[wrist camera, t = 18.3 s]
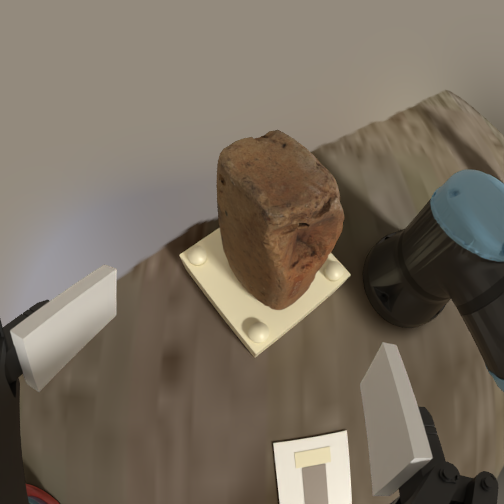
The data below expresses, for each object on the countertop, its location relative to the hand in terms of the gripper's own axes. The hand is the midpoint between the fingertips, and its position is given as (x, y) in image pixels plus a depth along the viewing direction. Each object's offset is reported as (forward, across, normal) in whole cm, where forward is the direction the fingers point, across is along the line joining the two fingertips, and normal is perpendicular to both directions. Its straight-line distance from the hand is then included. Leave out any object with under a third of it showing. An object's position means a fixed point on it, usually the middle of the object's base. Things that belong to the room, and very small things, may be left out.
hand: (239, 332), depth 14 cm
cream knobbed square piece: (+28, 0, -10) cm, 30 cm away
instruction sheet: (+10, +14, -29) cm, 34 cm away
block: (+24, 0, -8) cm, 25 cm away
